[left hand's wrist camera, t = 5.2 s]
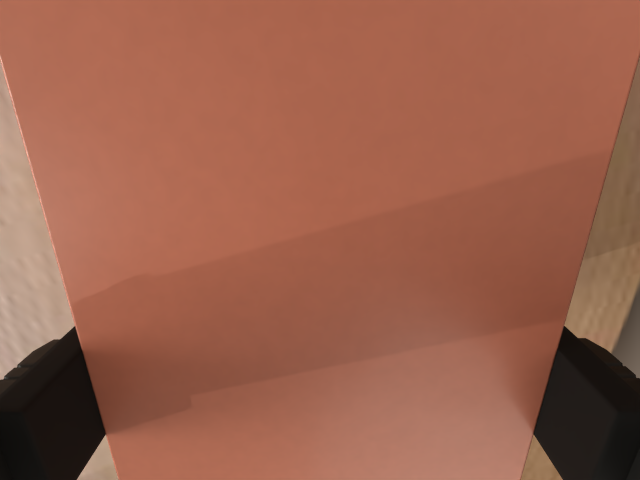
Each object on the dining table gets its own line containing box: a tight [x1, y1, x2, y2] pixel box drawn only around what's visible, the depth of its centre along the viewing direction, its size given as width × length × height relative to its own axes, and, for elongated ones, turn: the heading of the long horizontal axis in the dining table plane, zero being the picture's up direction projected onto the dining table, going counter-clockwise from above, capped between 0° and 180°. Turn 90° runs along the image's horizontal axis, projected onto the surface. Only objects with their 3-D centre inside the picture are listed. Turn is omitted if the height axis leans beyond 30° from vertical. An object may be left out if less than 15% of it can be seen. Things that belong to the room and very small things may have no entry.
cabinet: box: [0, 0, 640, 480], centre depth 11 cm, size 17×11×9 cm, turn 0°
